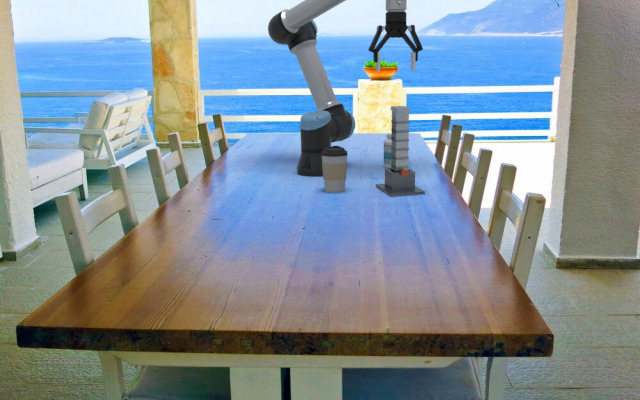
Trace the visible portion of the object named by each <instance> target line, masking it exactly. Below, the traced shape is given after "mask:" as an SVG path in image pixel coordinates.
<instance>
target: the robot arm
mask: <svg viewBox="0 0 640 400" xmlns="http://www.w3.org/2000/svg"><path fill="white" fill-rule="evenodd" d="M345 1H347V0H303V1H301V2H300V3H297V4H296V5H295V6H293V7H292V8H290V9H288V8H286V9H283V10H281V11H280V12H278V13H276V14H275V15H274V16H272V18H270V20H269V23H268V25H267V31H268V36H269V38H270V39H271V40H272V42H274V43H276V44H278V45H284V46H285V45H286V46H287V47H288V49H289V50H288V51H289V52H290V54H292V55H294V56H296V59H297V62H298V65H299V66H300V67H299V68H300V69H301V71H302V74H303V76H304V78H305V79H304V80H305V81H306V84H307V86H308V89H309V92H310V95H311V96H312V99H313V101H314V104H315V106H316V109H317V110H314V111H308V112H305V113H303V114H301V116H300V121H299V122H300V124H299V128H300V149H301V150H300V157H299V159H298V163H297V165H296V174H298V175H300V176H309V177H319V176H320V177H323V168H322V155H321V154H322V153H321V152H322V151H324V148H327V147H332V144H333V143H336V142H337V143H338V142H343V141H344V140H348V139H349V138H350V137H352V136H353V134H354V132H355V128H356V121H355V117H354V116H353V114H352V113H351V112H349V111H348V110H346V108H345V107H344V105H343V103H342V102H340V101H338V99H337V97H336V94H335V92H334V90H333V88H332V84H331V82H330V80H329V78H328V75H327V72H326V70H325V67H324V64H323V62H322V60H321V57H320V55H319V52H318V50H317V47H316V46H317V43H318V40H317V36H318V35H317V33H318V26H317V24H316V22H315V21H314V20H315V19H316V18H318V17H320V16H321V15H323V14H325V13H326V12H328V11H331V10H332V9H334V8H335V7H337V6H338V5H341V4H342V3H344V2H345ZM385 11H386V12H385V25H381V24H379V25H377V27H376V31H375V34H374V36H373V38H372V40H371V42H370V45H369V48H367V49H368V52H370V53H372V54H373V62H374V63H375V72H377V73H378V72H381V53H379V52H380V50H381V49H382V48H383V47H384V45H386V43H387V42H388V40H390V39H394V38H397V39H400V38H402V39H403V40H404V42H405V43H406V44H407V46H408V47H409V48H410V49H411V51H412V52H411V53H410V71H416V62H418V61H419V52H420V51H423V49H424V48H423V45H422V43H421V41H420V39H419V37H418V34H417V31H416V26H415V24H410V25H407V12H406V11H407V0H385ZM407 30H408V32H409V34H410V36H411V38H412V39H413V41H412V40H411V39H410V37H409V35H408V34H407V33H406V32H407ZM384 31H385V32H386V33H385V34H384V36H383V37H382V39H381V40H380V38H381V35H382V32H384ZM379 40H380V41H379ZM378 41H379V43H378Z"/></svg>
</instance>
